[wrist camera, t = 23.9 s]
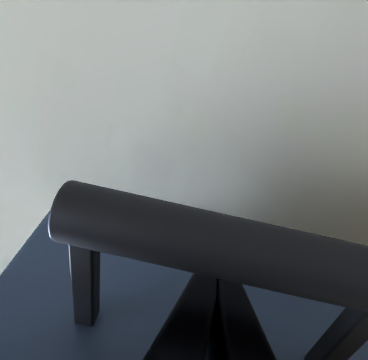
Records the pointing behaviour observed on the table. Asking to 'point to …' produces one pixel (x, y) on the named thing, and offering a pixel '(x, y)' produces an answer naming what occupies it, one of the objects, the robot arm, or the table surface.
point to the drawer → (173, 279)
